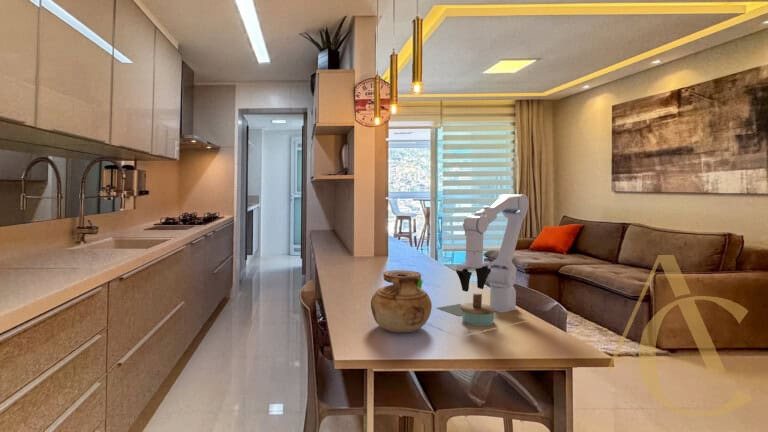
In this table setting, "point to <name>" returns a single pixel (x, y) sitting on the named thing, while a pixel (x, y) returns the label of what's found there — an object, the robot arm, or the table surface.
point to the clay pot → (401, 303)
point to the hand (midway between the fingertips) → (472, 289)
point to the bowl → (478, 319)
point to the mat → (452, 309)
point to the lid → (477, 306)
